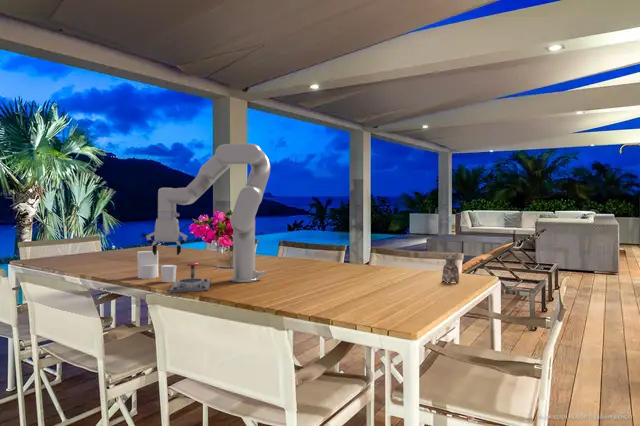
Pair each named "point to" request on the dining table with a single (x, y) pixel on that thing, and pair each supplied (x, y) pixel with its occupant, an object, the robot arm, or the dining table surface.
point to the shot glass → (168, 273)
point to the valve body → (191, 282)
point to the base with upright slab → (147, 264)
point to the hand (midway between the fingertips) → (166, 254)
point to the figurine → (450, 270)
